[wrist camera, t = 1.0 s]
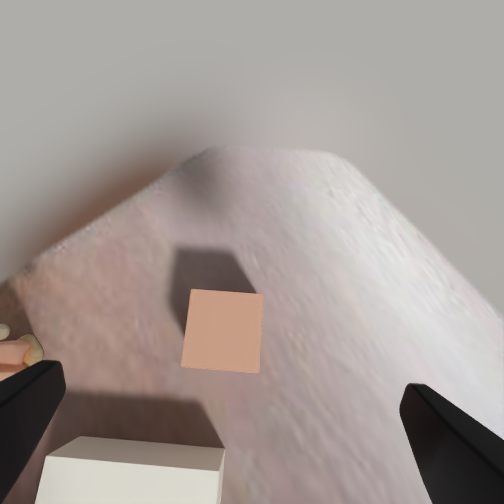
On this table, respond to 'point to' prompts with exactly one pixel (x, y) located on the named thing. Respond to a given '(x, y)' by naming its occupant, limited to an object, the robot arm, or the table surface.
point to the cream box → (131, 473)
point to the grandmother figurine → (17, 353)
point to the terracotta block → (223, 331)
